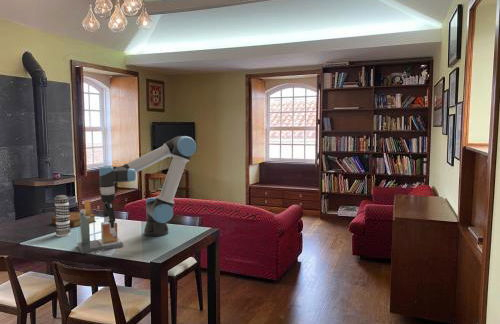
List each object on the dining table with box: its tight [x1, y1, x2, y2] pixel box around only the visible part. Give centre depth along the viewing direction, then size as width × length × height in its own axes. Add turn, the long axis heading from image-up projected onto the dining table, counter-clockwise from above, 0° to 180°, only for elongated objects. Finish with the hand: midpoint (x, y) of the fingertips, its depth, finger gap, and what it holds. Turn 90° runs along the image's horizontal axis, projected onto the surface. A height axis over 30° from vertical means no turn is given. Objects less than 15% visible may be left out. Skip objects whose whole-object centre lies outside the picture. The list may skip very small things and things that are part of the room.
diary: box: [51, 211, 97, 229], centre depth 278 cm, size 23×19×6 cm
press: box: [76, 213, 124, 254], centre depth 222 cm, size 22×15×19 cm
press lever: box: [79, 199, 92, 218], centre depth 215 cm, size 18×4×10 cm, turn 31°
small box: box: [100, 220, 119, 242], centre depth 224 cm, size 8×6×10 cm
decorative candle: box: [53, 194, 72, 237], centre depth 247 cm, size 9×9×25 cm
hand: (109, 230), depth 224 cm, fingers open, 13 cm apart
